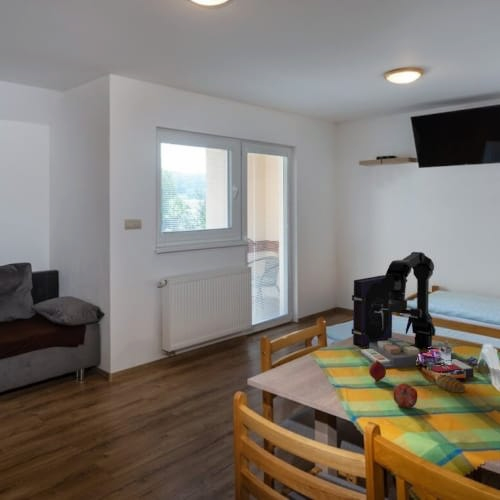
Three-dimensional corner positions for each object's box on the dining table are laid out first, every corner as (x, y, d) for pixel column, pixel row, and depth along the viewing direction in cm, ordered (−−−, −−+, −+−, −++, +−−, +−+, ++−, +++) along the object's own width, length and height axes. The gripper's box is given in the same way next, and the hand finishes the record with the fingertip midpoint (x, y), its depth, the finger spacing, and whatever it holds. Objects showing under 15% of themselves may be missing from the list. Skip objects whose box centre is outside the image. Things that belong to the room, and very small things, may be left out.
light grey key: (387, 347, 199) (387, 340, 198) (392, 350, 194) (392, 343, 194) (377, 348, 198) (377, 341, 198) (382, 351, 193) (382, 344, 193)
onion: (386, 379, 170) (387, 358, 169) (384, 385, 165) (384, 363, 164) (370, 377, 172) (371, 356, 172) (367, 382, 167) (368, 361, 166)
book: (381, 334, 229) (382, 274, 226) (392, 337, 224) (393, 276, 221) (351, 344, 214) (352, 280, 211) (362, 347, 209) (363, 281, 206)
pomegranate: (393, 407, 152) (386, 397, 145) (400, 386, 155) (394, 376, 148) (416, 415, 148) (410, 406, 141) (422, 393, 150) (417, 383, 143)
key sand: (412, 353, 190) (413, 346, 190) (418, 356, 186) (419, 349, 186) (403, 354, 190) (403, 346, 189) (408, 357, 185) (409, 350, 185)
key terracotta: (394, 352, 192) (394, 345, 192) (400, 355, 188) (400, 348, 188) (384, 352, 192) (385, 345, 191) (390, 356, 187) (390, 348, 187)
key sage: (404, 348, 197) (404, 341, 196) (410, 351, 192) (410, 344, 192) (395, 349, 196) (395, 342, 196) (400, 352, 192) (400, 345, 191)
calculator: (420, 361, 179) (456, 357, 182) (421, 372, 180) (456, 368, 182) (436, 371, 169) (474, 366, 171) (437, 383, 169) (474, 378, 171)
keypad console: (397, 349, 205) (397, 340, 205) (424, 365, 185) (424, 355, 185) (357, 352, 202) (357, 343, 201) (380, 368, 181) (380, 359, 181)
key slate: (397, 344, 203) (397, 337, 203) (402, 347, 199) (402, 340, 198) (387, 345, 202) (388, 338, 202) (392, 348, 198) (393, 341, 198)
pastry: (469, 391, 159) (470, 380, 159) (457, 395, 156) (458, 384, 155) (445, 382, 167) (446, 372, 167) (433, 386, 164) (433, 376, 163)
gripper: (370, 290, 180) (366, 330, 179) (421, 295, 172) (417, 337, 172) (374, 290, 190) (371, 328, 189) (423, 295, 182) (419, 335, 182)
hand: (394, 332), depth 183 cm, fingers open, 9 cm apart
